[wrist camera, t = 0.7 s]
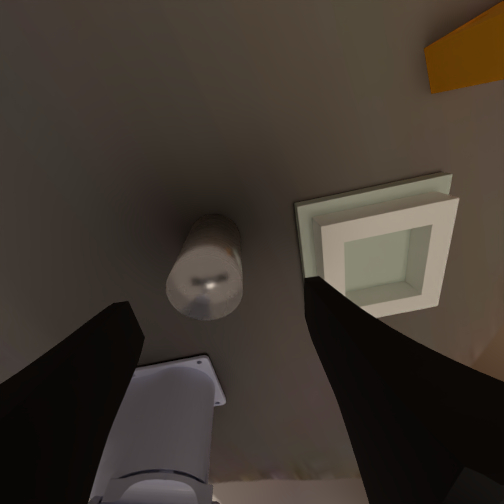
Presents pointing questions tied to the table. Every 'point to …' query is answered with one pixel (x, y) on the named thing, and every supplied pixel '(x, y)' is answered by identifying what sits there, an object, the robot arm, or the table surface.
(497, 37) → the pipe clamp
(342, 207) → the socket
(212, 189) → the table surface
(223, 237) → the grey cylinder
